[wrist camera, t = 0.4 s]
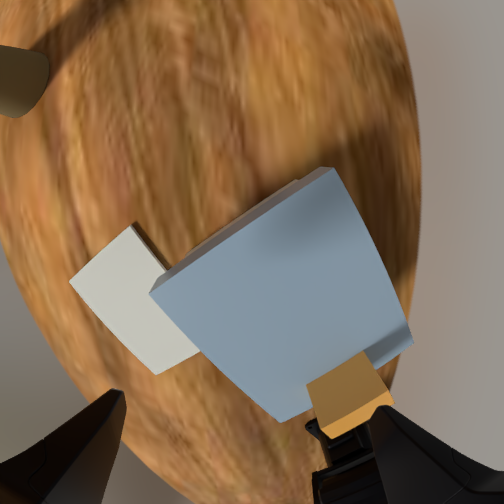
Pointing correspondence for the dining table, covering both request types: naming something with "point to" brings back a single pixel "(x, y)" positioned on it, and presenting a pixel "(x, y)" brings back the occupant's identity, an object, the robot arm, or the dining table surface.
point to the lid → (294, 305)
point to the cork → (21, 80)
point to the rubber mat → (132, 301)
